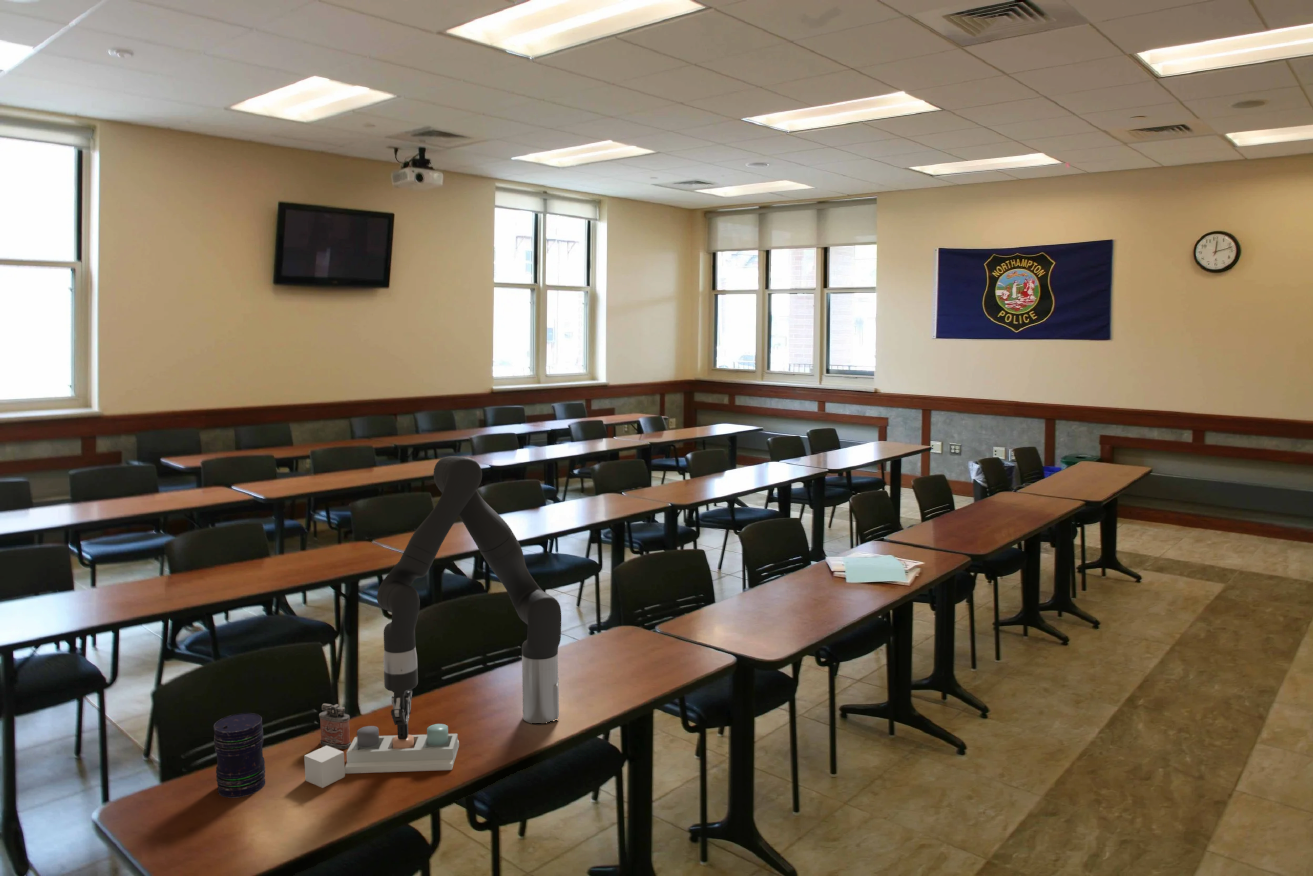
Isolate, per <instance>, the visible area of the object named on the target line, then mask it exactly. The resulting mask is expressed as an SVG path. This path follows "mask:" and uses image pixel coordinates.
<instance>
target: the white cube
mask: <svg viewBox="0 0 1313 876" xmlns="http://www.w3.org/2000/svg"><path fill="white" fill-rule="evenodd" d="M345 766H346V765H345V753H344V751H342V750H340V749H338V748H332V747H330V746H327V745H326V746H324V745H323V746H322V747H321V748H318V749H315V750H313V751H311V752H309V753H307V754H304V777H305V778H304V779H305V781H306V782H308V783H310V784H313V785H314V786H317V787H319V788H322V789H324V788H325V787H327V786H330V785H331V784H333V783H335V782H337V781H339V780H341V779H344V778H346V774H345Z"/></svg>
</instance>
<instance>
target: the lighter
mask: <svg viewBox="0 0 1313 876" xmlns="http://www.w3.org/2000/svg"><path fill="white" fill-rule="evenodd" d="M321 710H322V712H320V713H319V714H318V717H319V720H320V721H319V722H320V724H319V725H320V740H319V741H320V743H319V744H320V745H322V746H323V747H324V746H326V745H327V746H330V747H332V748H335V749H339V750H340V749H343V750H345V749H349V747H350V745H351V743H352V742H351V739H350V737H351V734H350V719H351V716H350V714H347V713H345V710H346V708H345V706H340V704H338V703H336V704H334V705H333V704H331V703H322V705H321Z"/></svg>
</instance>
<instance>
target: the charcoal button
mask: <svg viewBox="0 0 1313 876" xmlns="http://www.w3.org/2000/svg"><path fill="white" fill-rule="evenodd" d="M379 736H380V731H379V727H378V726H376V725H367V726H366V725H365V726H362V727H361V728H359V729H357V731H356V737H357V743H358V746H360V747H372V746H375V745H377V744H378V743H379Z"/></svg>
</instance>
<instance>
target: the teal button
mask: <svg viewBox="0 0 1313 876" xmlns="http://www.w3.org/2000/svg"><path fill="white" fill-rule="evenodd" d="M448 734H449V726H448V725H446V724H444V723H435V724H432V725H430V726H429V725H428V727H427V728H426V735H427V742H428V743H429V744H431V745H441V744H444V743H446V742H447V741H448Z"/></svg>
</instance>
